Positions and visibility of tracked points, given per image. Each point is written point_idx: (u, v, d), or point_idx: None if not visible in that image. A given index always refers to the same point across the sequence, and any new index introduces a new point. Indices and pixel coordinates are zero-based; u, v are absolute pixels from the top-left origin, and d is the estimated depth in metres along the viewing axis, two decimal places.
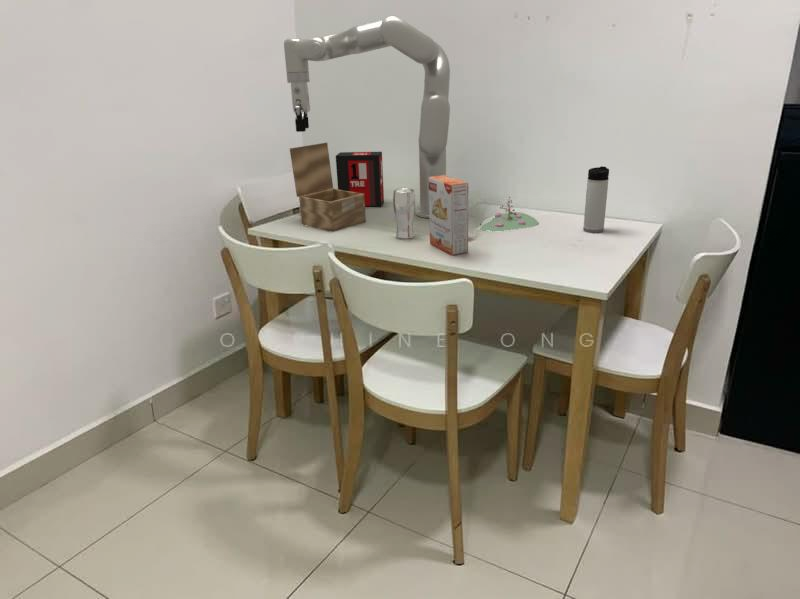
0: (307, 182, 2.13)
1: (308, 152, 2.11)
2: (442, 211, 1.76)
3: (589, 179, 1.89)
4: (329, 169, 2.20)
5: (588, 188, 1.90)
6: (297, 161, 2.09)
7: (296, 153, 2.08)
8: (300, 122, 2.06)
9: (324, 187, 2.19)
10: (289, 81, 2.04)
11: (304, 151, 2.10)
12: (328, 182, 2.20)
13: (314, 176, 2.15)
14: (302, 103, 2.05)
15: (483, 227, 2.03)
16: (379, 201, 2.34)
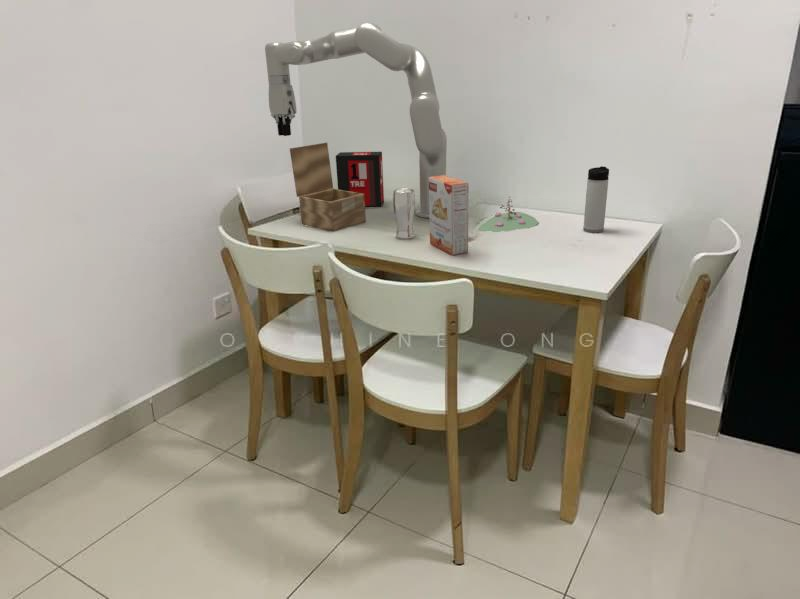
0: (307, 182, 2.13)
1: (308, 152, 2.11)
2: (442, 211, 1.76)
3: (589, 179, 1.89)
4: (329, 169, 2.20)
5: (588, 188, 1.90)
6: (297, 161, 2.09)
7: (296, 153, 2.08)
8: (288, 126, 2.16)
9: (324, 187, 2.19)
10: (278, 84, 2.09)
11: (304, 151, 2.10)
12: (328, 182, 2.20)
13: (314, 176, 2.15)
14: (293, 105, 2.13)
15: (483, 227, 2.03)
16: (379, 201, 2.34)
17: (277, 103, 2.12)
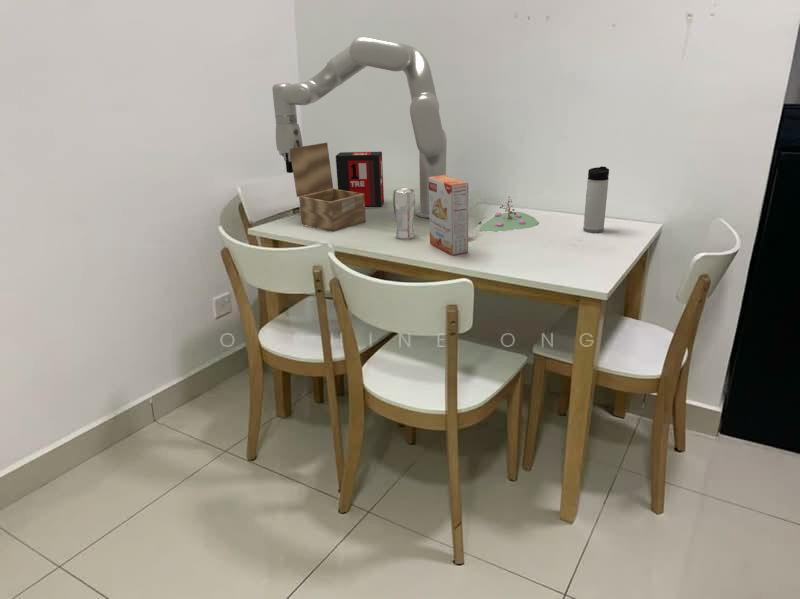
0: (307, 182, 2.13)
1: (308, 152, 2.11)
2: (442, 211, 1.76)
3: (589, 179, 1.89)
4: (329, 169, 2.20)
5: (588, 188, 1.90)
6: (297, 161, 2.09)
7: (296, 153, 2.08)
8: None
9: (324, 187, 2.19)
10: (285, 124, 2.13)
11: (304, 151, 2.10)
12: (328, 182, 2.20)
13: (314, 176, 2.15)
14: (300, 143, 2.16)
15: (483, 227, 2.03)
16: (379, 201, 2.34)
17: (284, 142, 2.16)
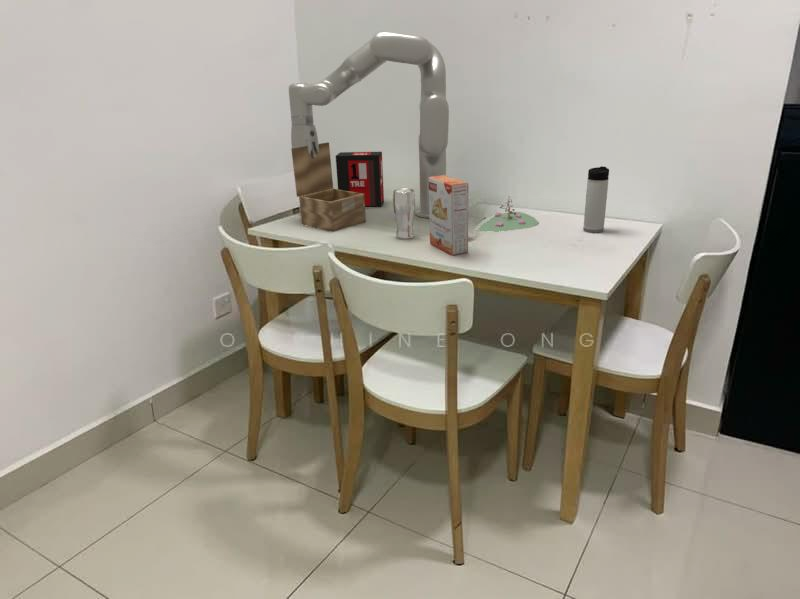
0: (307, 182, 2.13)
1: None
2: (442, 211, 1.76)
3: (589, 179, 1.89)
4: (330, 169, 2.19)
5: (588, 188, 1.90)
6: (298, 161, 2.08)
7: (298, 153, 2.07)
8: None
9: (324, 187, 2.19)
10: (301, 125, 2.07)
11: (306, 151, 2.10)
12: (328, 182, 2.20)
13: (315, 176, 2.15)
14: (316, 145, 2.11)
15: (483, 227, 2.03)
16: (379, 201, 2.34)
17: (300, 143, 2.11)
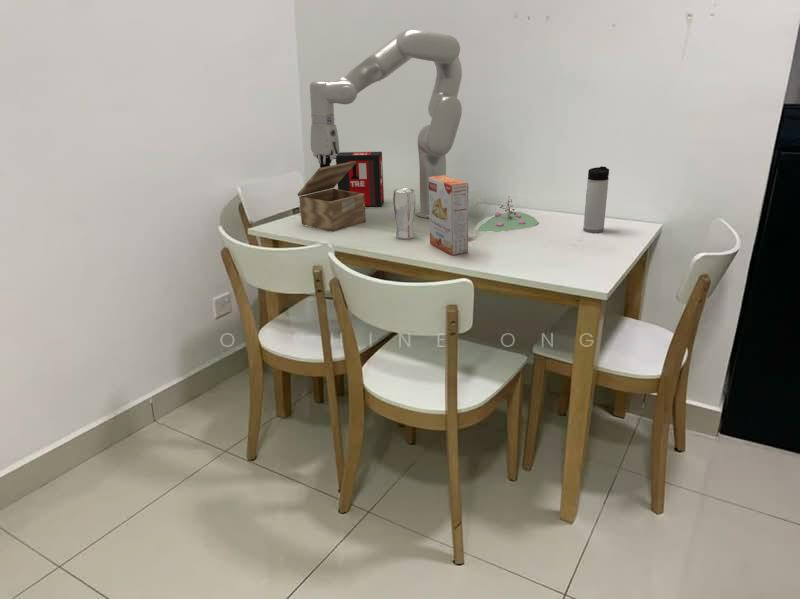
0: (314, 187, 2.11)
1: (333, 170, 2.06)
2: (442, 211, 1.76)
3: (589, 179, 1.89)
4: (341, 177, 2.17)
5: (588, 188, 1.90)
6: (318, 176, 2.04)
7: (322, 172, 2.02)
8: None
9: (326, 188, 2.18)
10: (321, 124, 2.00)
11: (330, 170, 2.04)
12: (333, 185, 2.19)
13: (324, 183, 2.13)
14: (337, 145, 2.04)
15: (483, 227, 2.03)
16: (379, 201, 2.34)
17: (320, 143, 2.03)
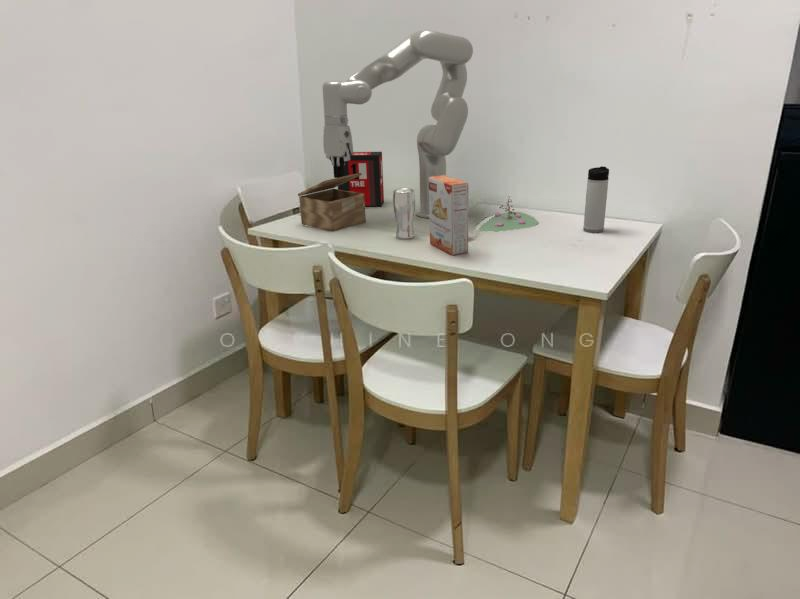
0: (316, 190, 2.11)
1: (338, 180, 2.06)
2: (442, 211, 1.76)
3: (589, 179, 1.89)
4: (343, 182, 2.17)
5: (588, 188, 1.90)
6: (322, 185, 2.04)
7: (327, 183, 2.02)
8: (342, 168, 2.04)
9: (326, 189, 2.18)
10: (335, 125, 1.96)
11: (335, 181, 2.04)
12: (334, 186, 2.19)
13: (326, 187, 2.13)
14: (350, 146, 2.00)
15: (483, 227, 2.03)
16: (379, 201, 2.34)
17: (333, 144, 1.99)
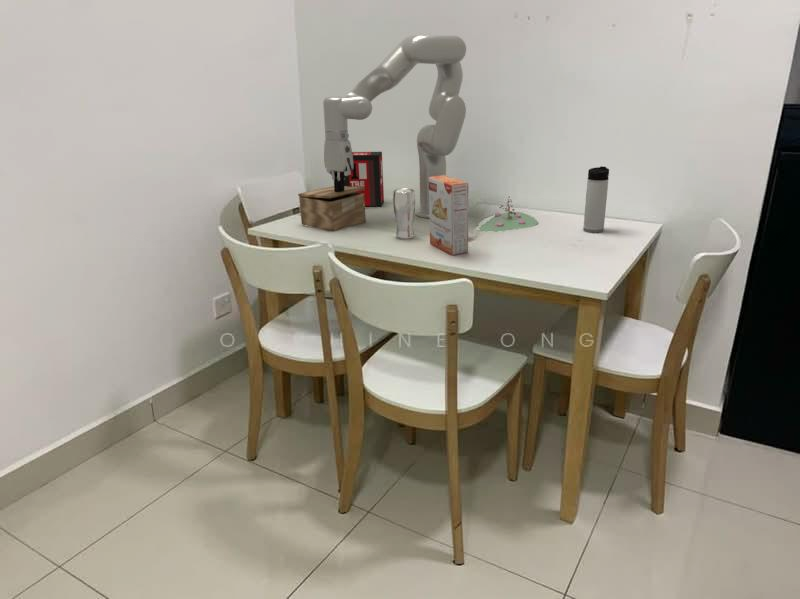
0: None
1: None
2: (442, 211, 1.76)
3: (589, 179, 1.89)
4: None
5: (588, 188, 1.90)
6: None
7: None
8: (342, 182, 2.05)
9: None
10: (336, 140, 1.97)
11: None
12: None
13: None
14: (351, 161, 2.01)
15: (483, 227, 2.03)
16: (379, 201, 2.34)
17: (334, 159, 2.01)
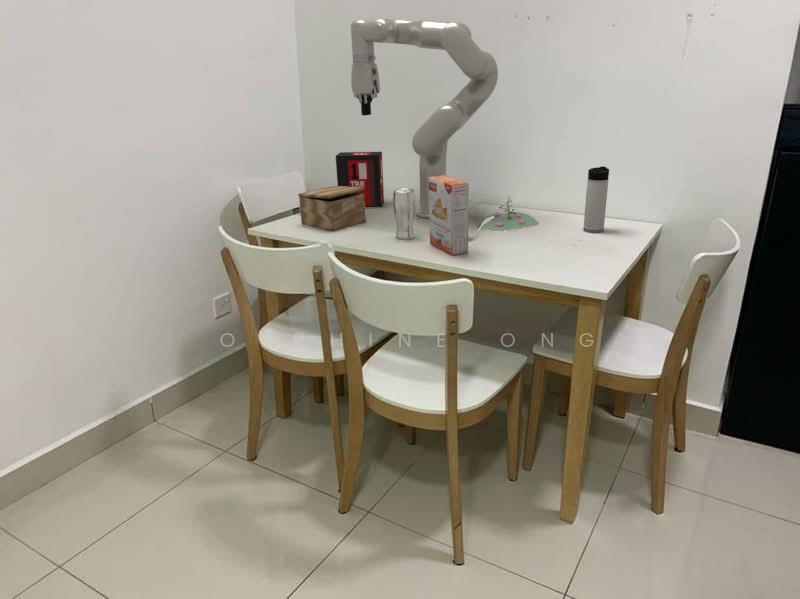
0: None
1: None
2: (442, 211, 1.76)
3: (589, 179, 1.89)
4: None
5: (588, 188, 1.90)
6: None
7: None
8: (369, 106, 2.14)
9: None
10: (363, 62, 2.06)
11: None
12: None
13: None
14: (377, 84, 2.10)
15: (484, 227, 2.03)
16: (379, 201, 2.34)
17: (361, 82, 2.10)
